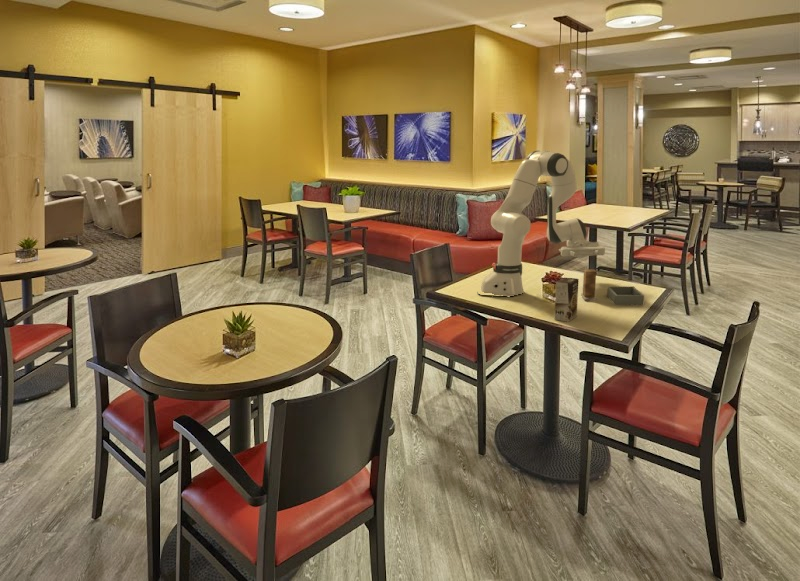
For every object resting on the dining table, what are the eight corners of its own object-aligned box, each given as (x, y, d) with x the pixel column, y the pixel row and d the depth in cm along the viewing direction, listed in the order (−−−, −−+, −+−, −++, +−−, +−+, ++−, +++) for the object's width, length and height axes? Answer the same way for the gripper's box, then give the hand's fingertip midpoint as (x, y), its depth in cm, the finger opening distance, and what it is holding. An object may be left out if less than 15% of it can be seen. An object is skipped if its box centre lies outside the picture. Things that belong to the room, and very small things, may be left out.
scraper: (584, 301, 252) (586, 272, 249) (580, 295, 261) (582, 268, 257) (596, 301, 252) (598, 272, 248) (592, 295, 260) (593, 268, 257)
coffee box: (569, 322, 225) (571, 283, 220) (553, 319, 228) (555, 281, 224) (577, 316, 232) (579, 278, 227) (562, 313, 235) (563, 276, 231)
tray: (615, 305, 245) (616, 295, 244) (606, 295, 260) (607, 286, 259) (643, 305, 243) (644, 295, 242) (632, 295, 258) (633, 286, 257)
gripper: (558, 242, 277) (562, 248, 264) (601, 241, 274) (608, 247, 261) (557, 255, 278) (562, 261, 265) (600, 254, 276) (607, 260, 263)
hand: (585, 254), depth 263 cm, fingers open, 8 cm apart
